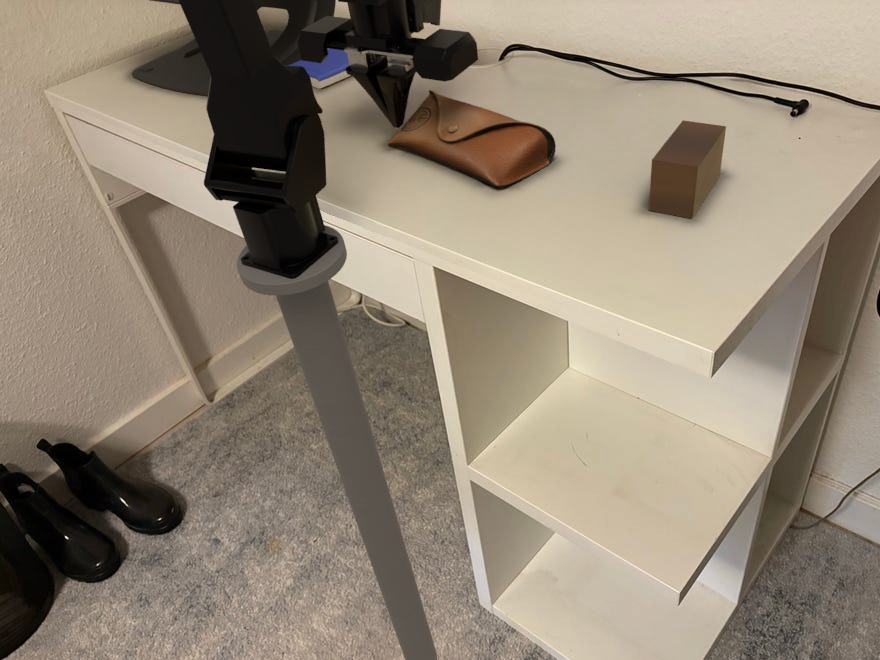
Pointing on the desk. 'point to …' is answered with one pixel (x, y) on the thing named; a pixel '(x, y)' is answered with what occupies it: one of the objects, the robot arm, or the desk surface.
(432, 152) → the sunglasses case
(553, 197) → the desk surface
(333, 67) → the hard drive
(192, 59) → the laptop stand
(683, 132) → the walnut block
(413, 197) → the desk surface
